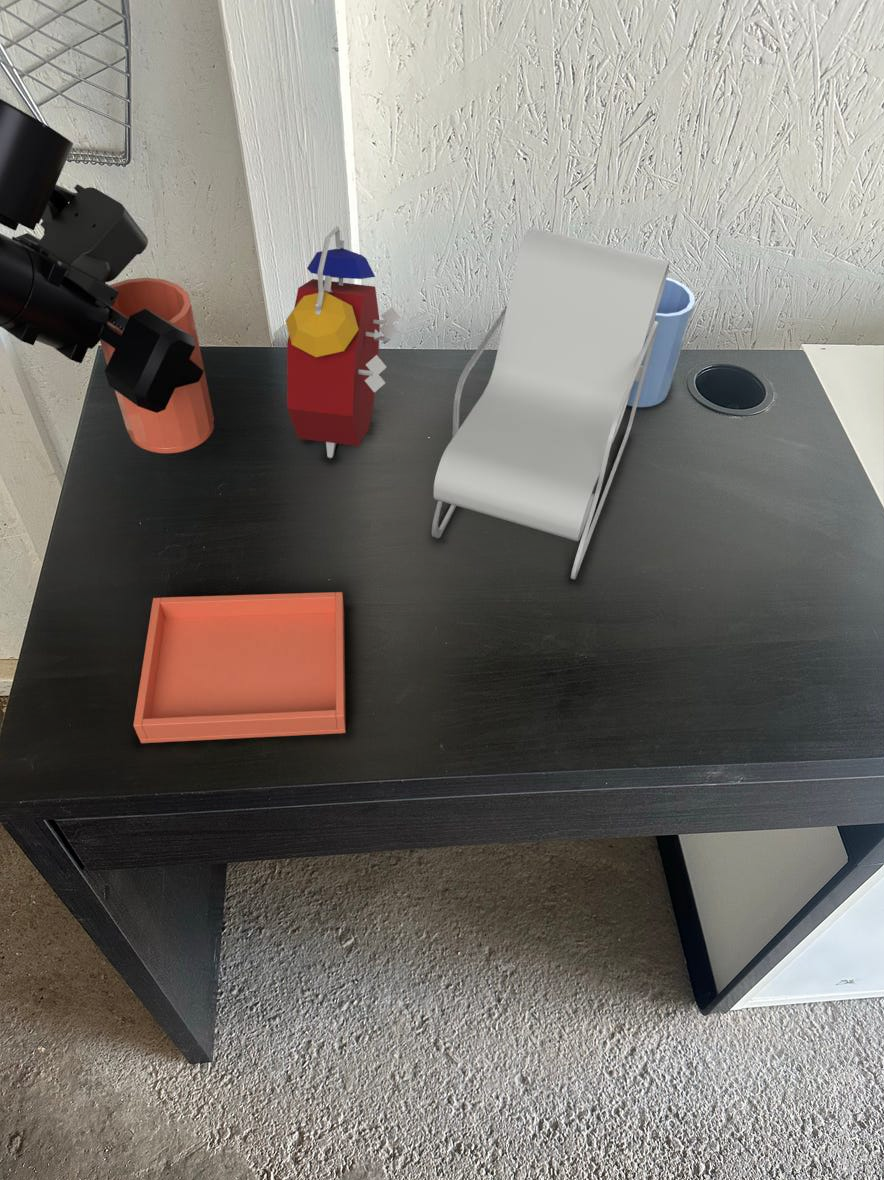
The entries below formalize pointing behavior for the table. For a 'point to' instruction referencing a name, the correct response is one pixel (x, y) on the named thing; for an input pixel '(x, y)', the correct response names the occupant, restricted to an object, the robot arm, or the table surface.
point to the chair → (554, 388)
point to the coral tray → (243, 667)
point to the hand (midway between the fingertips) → (169, 355)
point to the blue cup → (665, 344)
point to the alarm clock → (335, 349)
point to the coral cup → (188, 404)
